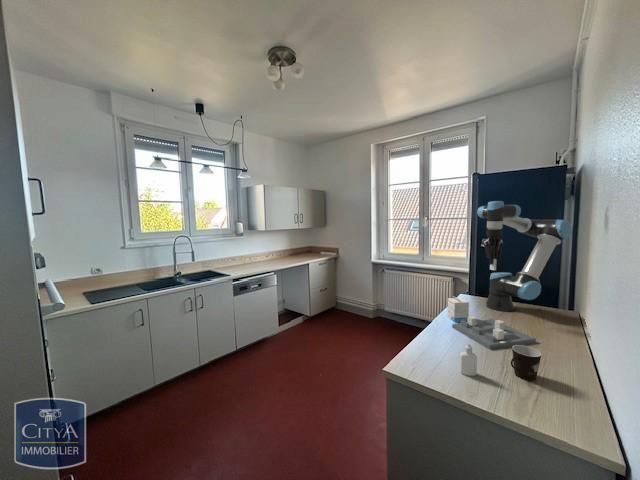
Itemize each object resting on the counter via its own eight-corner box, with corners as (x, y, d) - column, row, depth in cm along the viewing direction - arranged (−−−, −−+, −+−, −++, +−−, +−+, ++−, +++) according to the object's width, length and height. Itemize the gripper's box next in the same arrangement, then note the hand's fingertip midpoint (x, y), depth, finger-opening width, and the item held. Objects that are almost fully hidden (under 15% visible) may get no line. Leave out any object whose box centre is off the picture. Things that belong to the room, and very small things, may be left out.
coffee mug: (529, 369, 102) (530, 345, 101) (546, 383, 93) (547, 357, 92) (497, 368, 103) (498, 344, 102) (511, 382, 94) (512, 356, 94)
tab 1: (472, 323, 140) (472, 316, 140) (476, 325, 138) (476, 318, 137) (467, 323, 140) (467, 316, 140) (471, 326, 137) (471, 318, 137)
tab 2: (499, 327, 135) (499, 320, 134) (504, 329, 132) (504, 322, 131) (494, 328, 134) (494, 320, 134) (499, 330, 131) (499, 322, 131)
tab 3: (498, 336, 125) (498, 328, 125) (503, 339, 122) (503, 330, 122) (492, 337, 124) (493, 328, 124) (498, 339, 121) (498, 331, 121)
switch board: (492, 322, 146) (492, 315, 146) (535, 342, 123) (536, 333, 123) (452, 327, 141) (452, 319, 141) (489, 349, 118) (489, 340, 117)
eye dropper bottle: (461, 368, 104) (462, 339, 103) (477, 373, 100) (478, 343, 99) (458, 373, 100) (459, 343, 99) (474, 378, 97) (475, 348, 96)
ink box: (469, 322, 148) (469, 299, 147) (454, 322, 148) (454, 299, 147) (461, 316, 156) (461, 294, 155) (447, 316, 156) (447, 295, 155)
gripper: (498, 228, 151) (496, 268, 153) (479, 228, 148) (477, 269, 151) (510, 228, 144) (508, 270, 146) (490, 229, 141) (488, 272, 143)
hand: (492, 269), depth 148 cm, fingers closed
